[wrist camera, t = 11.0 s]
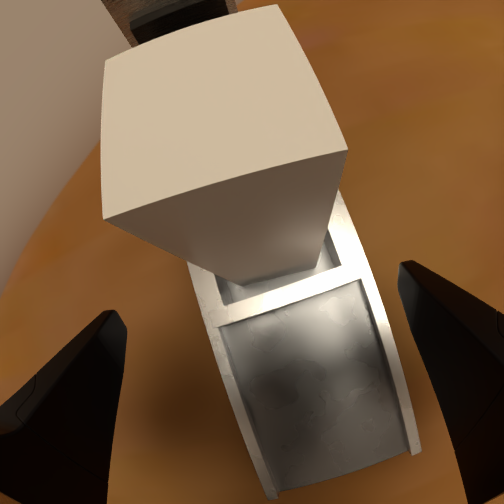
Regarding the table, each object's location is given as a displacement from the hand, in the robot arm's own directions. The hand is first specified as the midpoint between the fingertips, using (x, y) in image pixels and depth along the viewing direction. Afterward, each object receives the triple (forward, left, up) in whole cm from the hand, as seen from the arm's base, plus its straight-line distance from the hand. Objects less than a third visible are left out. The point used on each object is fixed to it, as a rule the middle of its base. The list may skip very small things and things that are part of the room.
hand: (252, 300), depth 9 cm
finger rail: (+1, -1, -9) cm, 9 cm away
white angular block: (+3, -1, -7) cm, 8 cm away
